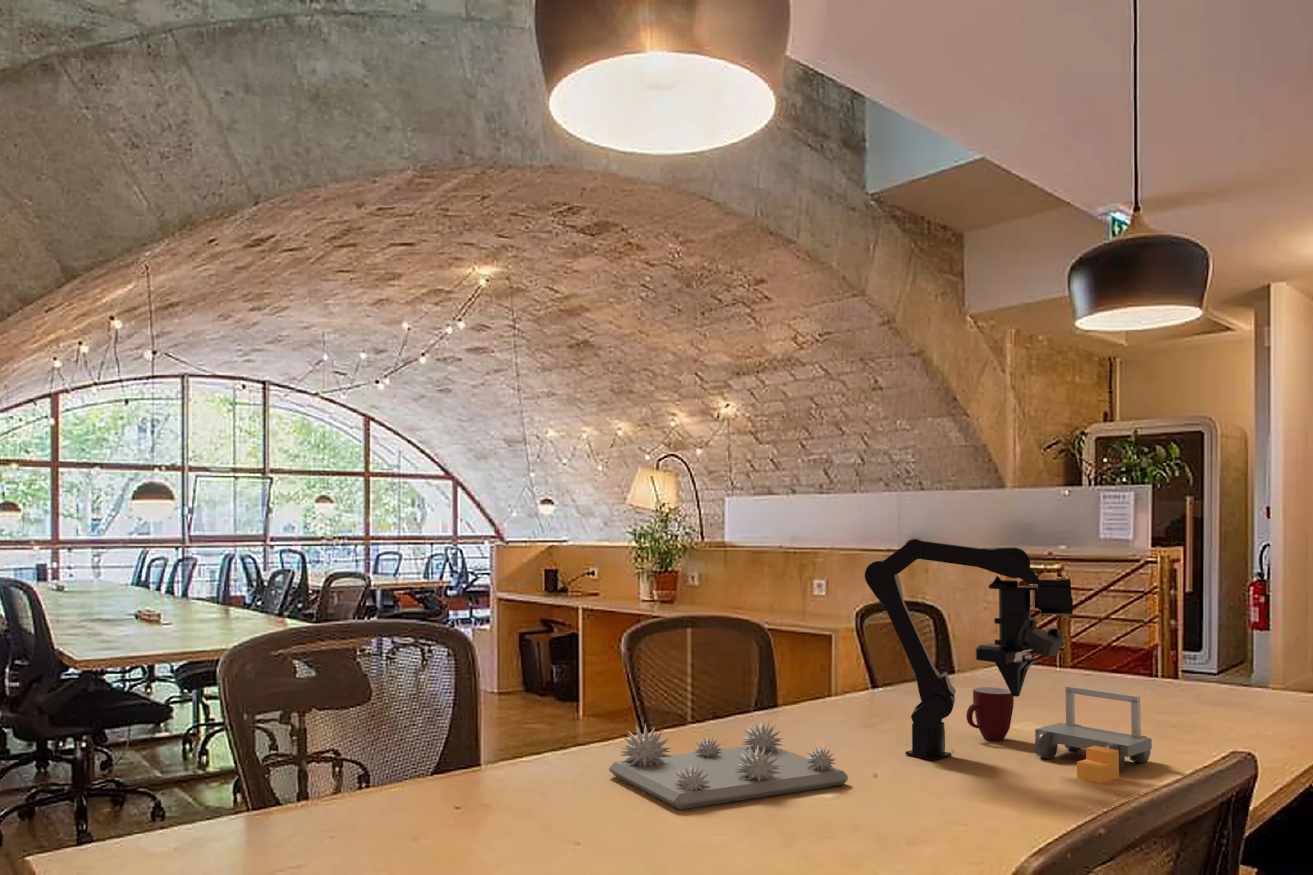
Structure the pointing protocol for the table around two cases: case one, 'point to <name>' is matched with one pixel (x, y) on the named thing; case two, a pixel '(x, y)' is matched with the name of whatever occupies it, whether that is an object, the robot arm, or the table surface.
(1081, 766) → the orange stair block
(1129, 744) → the trolley
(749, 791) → the decorative tray
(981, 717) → the mug
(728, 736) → the table surface
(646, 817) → the table surface
